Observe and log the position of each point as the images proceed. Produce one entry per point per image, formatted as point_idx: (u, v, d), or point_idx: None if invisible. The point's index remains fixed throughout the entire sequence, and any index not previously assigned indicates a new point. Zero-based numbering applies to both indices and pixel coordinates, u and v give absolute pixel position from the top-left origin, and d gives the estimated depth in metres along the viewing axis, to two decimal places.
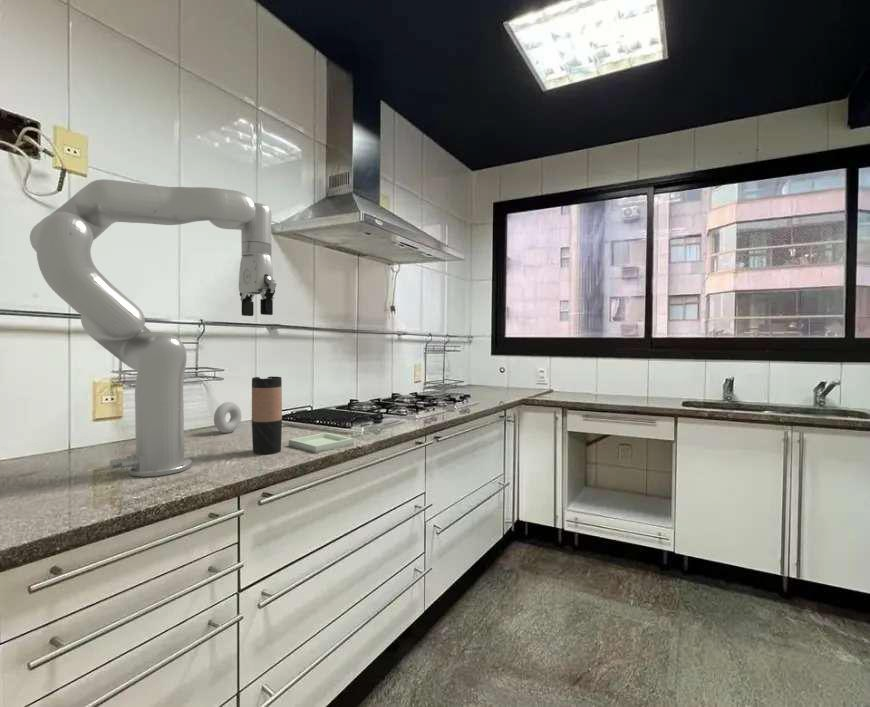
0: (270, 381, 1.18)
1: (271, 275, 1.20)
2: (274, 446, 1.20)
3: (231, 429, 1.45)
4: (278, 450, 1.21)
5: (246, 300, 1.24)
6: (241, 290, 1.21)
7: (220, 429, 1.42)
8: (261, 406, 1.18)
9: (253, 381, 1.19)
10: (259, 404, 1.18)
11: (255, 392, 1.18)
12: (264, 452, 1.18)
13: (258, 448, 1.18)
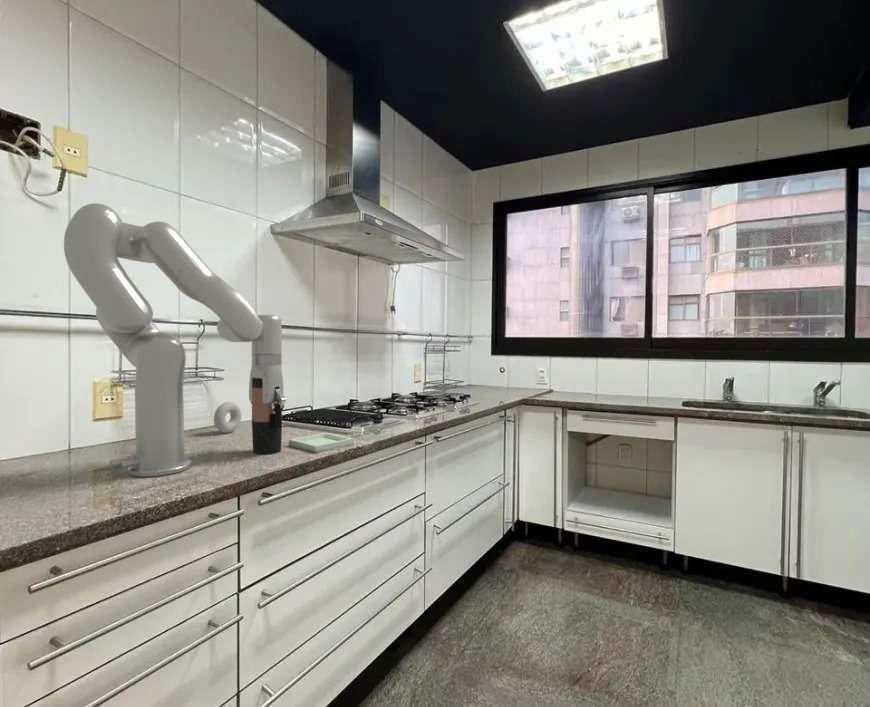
0: None
1: (281, 386, 1.19)
2: (274, 446, 1.20)
3: (231, 429, 1.45)
4: (278, 450, 1.21)
5: None
6: (251, 400, 1.21)
7: (220, 429, 1.42)
8: (261, 406, 1.18)
9: (253, 381, 1.19)
10: (259, 404, 1.18)
11: (255, 392, 1.18)
12: (264, 452, 1.18)
13: (259, 448, 1.18)
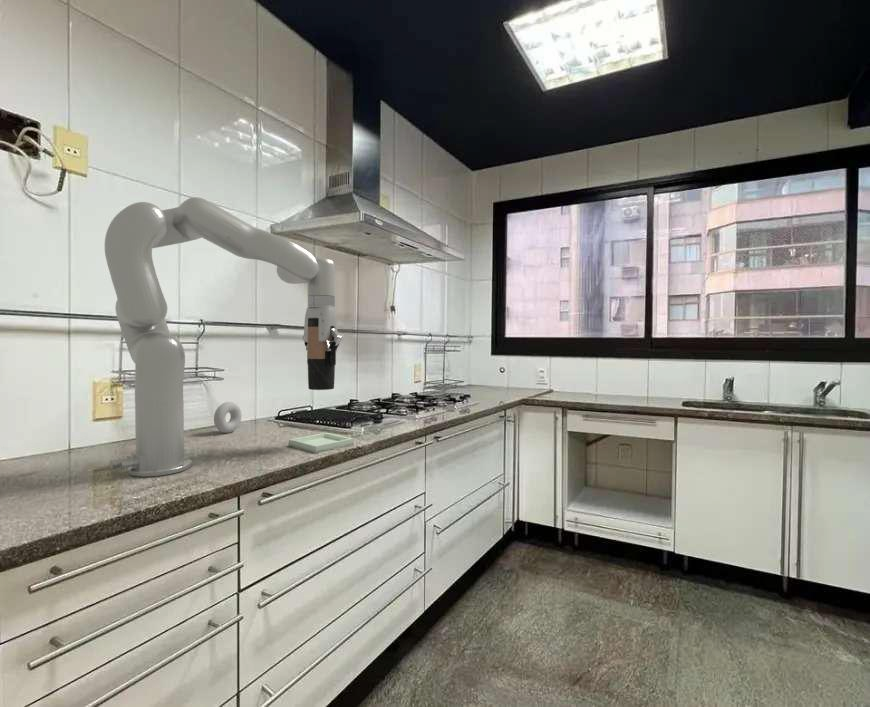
0: None
1: (336, 326, 1.27)
2: (329, 382, 1.27)
3: (231, 429, 1.45)
4: (332, 387, 1.28)
5: None
6: (307, 339, 1.28)
7: (220, 429, 1.42)
8: (317, 343, 1.25)
9: (310, 320, 1.26)
10: (316, 342, 1.25)
11: (311, 331, 1.25)
12: (320, 387, 1.26)
13: (315, 384, 1.26)
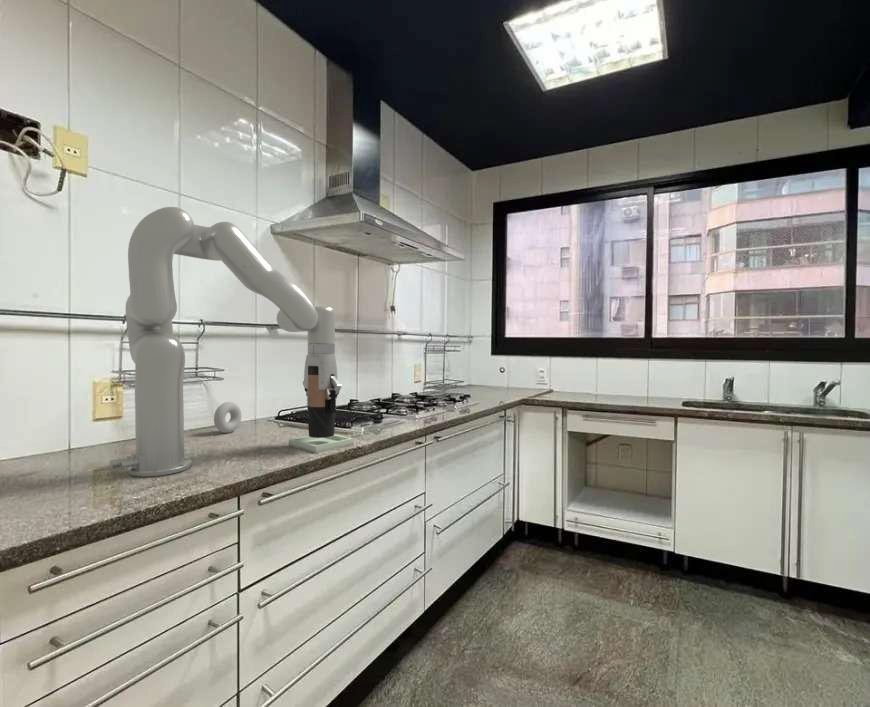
0: None
1: (336, 374, 1.27)
2: (329, 429, 1.27)
3: (231, 429, 1.45)
4: (332, 434, 1.29)
5: None
6: (307, 386, 1.29)
7: (220, 429, 1.42)
8: (317, 392, 1.25)
9: (310, 369, 1.26)
10: (316, 390, 1.25)
11: (312, 379, 1.26)
12: (320, 435, 1.26)
13: (315, 432, 1.26)
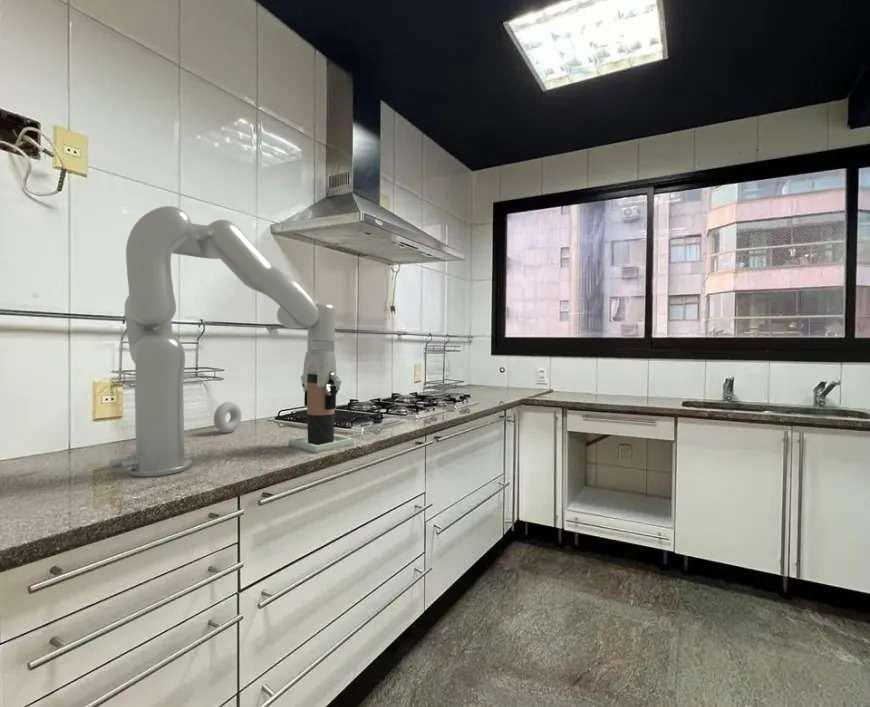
0: None
1: (335, 371, 1.27)
2: (328, 438, 1.27)
3: (231, 429, 1.45)
4: None
5: None
6: (305, 384, 1.28)
7: (220, 429, 1.42)
8: (317, 400, 1.25)
9: (309, 377, 1.26)
10: (315, 399, 1.25)
11: (311, 387, 1.26)
12: (319, 443, 1.26)
13: (314, 440, 1.26)
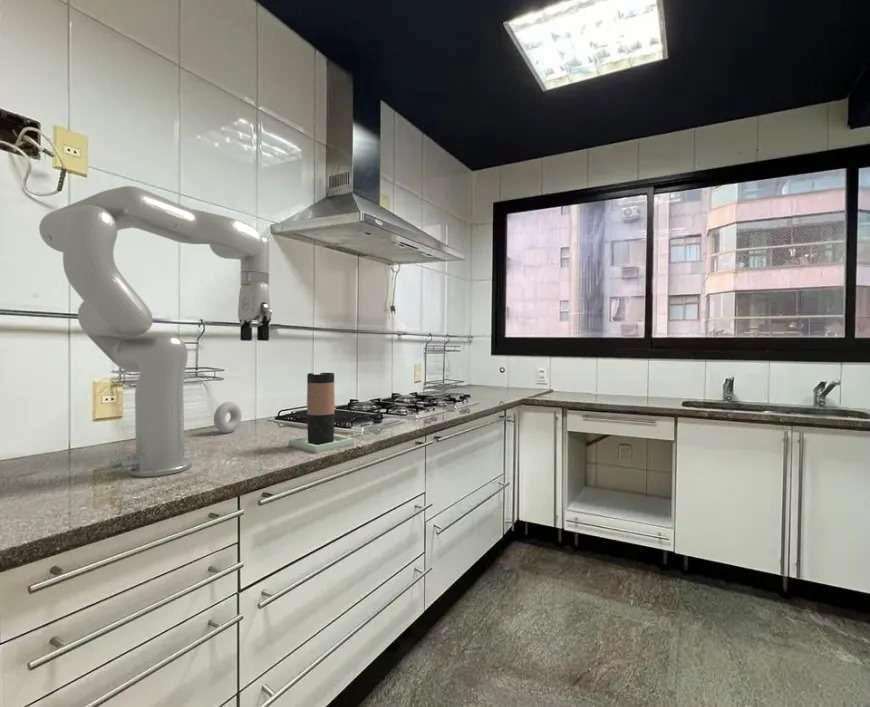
0: (325, 377, 1.26)
1: (268, 303, 1.26)
2: (328, 438, 1.27)
3: (231, 429, 1.45)
4: None
5: (245, 326, 1.31)
6: (240, 317, 1.28)
7: (220, 429, 1.42)
8: (317, 400, 1.25)
9: (309, 377, 1.26)
10: (315, 399, 1.25)
11: (311, 387, 1.26)
12: (319, 443, 1.26)
13: (314, 440, 1.26)
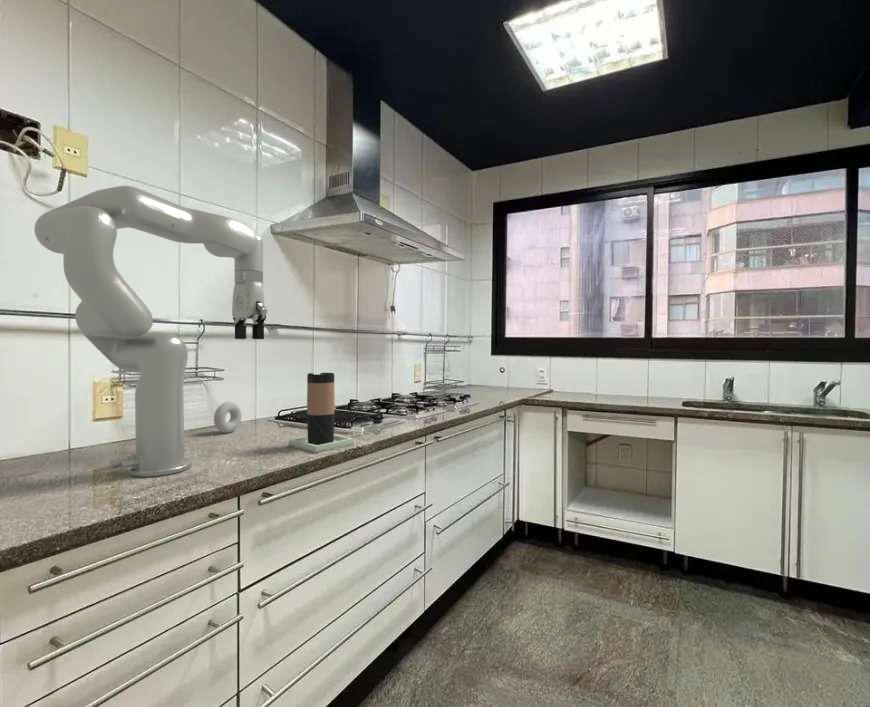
0: (325, 377, 1.26)
1: (262, 301, 1.26)
2: (328, 438, 1.27)
3: (231, 429, 1.45)
4: None
5: (239, 324, 1.31)
6: (234, 315, 1.28)
7: (220, 429, 1.42)
8: (317, 400, 1.25)
9: (309, 377, 1.26)
10: (315, 399, 1.25)
11: (311, 387, 1.26)
12: (319, 443, 1.26)
13: (314, 440, 1.26)
